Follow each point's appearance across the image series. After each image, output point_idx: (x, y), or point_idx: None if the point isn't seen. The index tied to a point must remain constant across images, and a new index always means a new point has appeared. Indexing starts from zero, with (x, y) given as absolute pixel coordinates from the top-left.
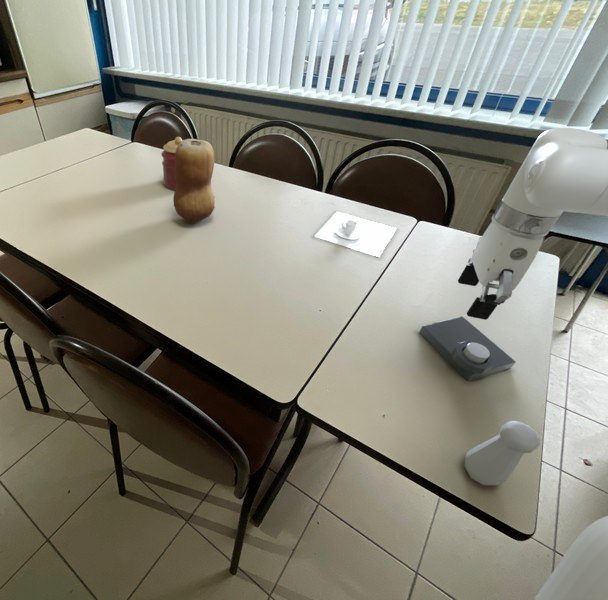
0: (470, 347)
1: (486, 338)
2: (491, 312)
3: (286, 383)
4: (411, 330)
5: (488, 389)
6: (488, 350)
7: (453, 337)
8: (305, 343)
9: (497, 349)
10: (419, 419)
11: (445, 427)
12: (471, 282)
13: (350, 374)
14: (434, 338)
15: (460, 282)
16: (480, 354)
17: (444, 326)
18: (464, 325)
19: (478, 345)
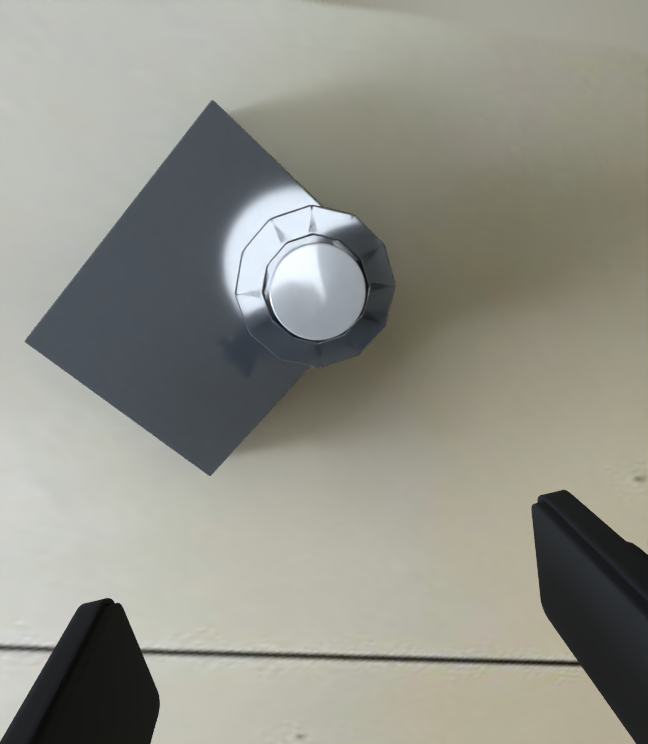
0: (320, 326)
1: (123, 229)
2: (618, 538)
3: None
4: (220, 481)
5: (387, 198)
6: (296, 250)
7: (209, 361)
8: (467, 716)
9: (175, 181)
10: (615, 392)
11: (615, 321)
12: (123, 663)
13: (529, 588)
14: (256, 423)
15: (156, 705)
16: (343, 282)
17: (157, 401)
18: (91, 326)
19: (285, 294)
